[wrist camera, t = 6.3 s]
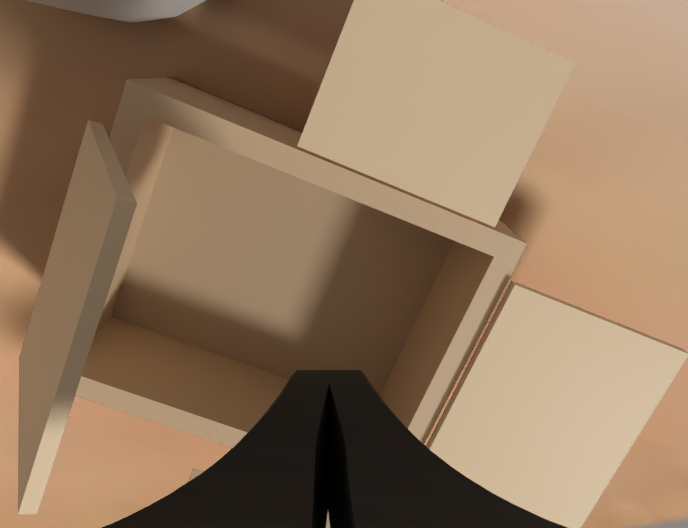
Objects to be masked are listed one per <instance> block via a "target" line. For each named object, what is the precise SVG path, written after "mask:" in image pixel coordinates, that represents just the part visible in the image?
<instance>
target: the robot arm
mask: <svg viewBox="0 0 688 528" xmlns="http://www.w3.org/2000/svg"><path fill="white" fill-rule="evenodd" d="M327 513H329V522H330V528H568V527H565V526H562V525H560V524H557V523H554V522H551V521H549V520H546V519H544V518H542V517H540V516H538V515H535V514H533V513H531V512H529V511H527V510H525V509H523V508H521V507H518V506H516V505H514V504H512V503H510V502H508V501H507V500H505V499H503V498H501V497H499V496H497V495H495V494H493V493H492V492H490V491H488V490H487V489H485V488H483V487H482V486H480V485H479V484H477V483H475V482H474V481H472V480H470V479H469V478H467V477H466V476H464V475H463V474H461V473H460V472H458V471H457V470H455V469H454V468H453V467H451V466H450V465H449V464H447V463H446V462H445V461H443V460H442V459H441V458H440V457H438V456H437V455H436V454H434V453H433V452H432V451H431V450H430V449H428V448H427V447H426V446H425V445H424V444H423V443H421V442H420V441H419V440H418V439H417V438H416V437H415V436H414V435H413V434H412V433H411V432H410V431H409V430H408V429H407V428H406V426H405V425H404V424H403V423H402V422H401V421H400V420H399V419H398V417H397V416H396V415H395V414H394V413H393V412H392V411H391V409H390V408H389V407H388V406H387V405H386V403H385V402H384V401H383V399H382V398H381V397H380V395H379V394H378V393H377V392H376V390H375V389H374V387H373V386H372V384H371V383H370V381H369V380H368V378H367V377H366V375H365V374H364V373H363V372H362V371H361V370H297V371H296V372H295V373H293V374H292V375H291V377H290V379H289V381H288V382H287V384H286V385H285V387H284V389H283V390H282V392H281V393H280V394H279V396H278V397H277V398H276V400H275V401H274V402H273V404H272V405H271V406H270V407H269V409H268V410H267V411H266V412H265V414H264V415H263V416H262V417H261V419H260V420H259V421H258V422H257V423H256V424H255V425H254V426H253V428H252V429H251V430H250V431H249V432H248V433H247V434H246V435H245V436H244V437H243V438H242V439H241V440H240V441H239V442H238V443H237V444H236V445H235V446H234V447H233V448H232V449H231V450H230V451H229V452H228V453H227V454H226V455H224V456H223V457H222V458H221V459H220V460H219V461H217V462H216V463H215V464H214V465H212V466H211V467H210V468H208V469H207V470H206V471H204V472H203V473H201V474H200V475H198V476H197V477H195V478H194V479H192V480H191V481H189V482H188V483H186V484H185V485H183V486H182V487H180V488H179V489H177V490H176V491H174V492H173V493H171V494H169V495H168V496H166V497H164V498H162V499H160V500H159V501H157V502H155V503H153V504H151V505H150V506H148V507H146V508H144V509H142V510H140V511H138V512H136V513H134V514H132V515H130V516H128V517H126V518H123V519H121V520H119V521H117V522H115V523H112V524H110V525H107V526H105V527H102V528H326V522H327Z"/></svg>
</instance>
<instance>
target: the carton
mask: <svg viewBox="0 0 688 528" xmlns="http://www.w3.org/2000/svg"><path fill="white" fill-rule="evenodd" d="M575 65H576V62H573V61H571V60H569V59H567V58H565V57H563V56H560V55H558V54H556V53H554V52H552V51H550V50H547V49H545V48H543V47H541V46H539V45H537V44H534V43H532V42H530V41H528V40H526V39H524V38H521V37H519V36H517V35H515V34H513V33H511V32H508V31H506V30H504V29H502V28H500V27H497V26H495V25H493V24H491V23H489V22H487V21H484V20H482V19H480V18H478V17H476V16H474V15H471V14H469V13H467V12H465V11H463V10H461V9H458V8H456V7H454V6H452V5H450V4H448V3H445V2H443V1H441V0H354V1H353V3H352V6H351V8H350V11H349V14H348V16H347V19H346V21H345V24H344V27H343V29H342V32H341V34H340V37H339V39H338V42H337V45H336V47H335V50H334V52H333V55H332V57H331V60H330V63H329V65H328V68H327V70H326V73H325V76H324V78H323V81H322V83H321V86H320V88H319V91H318V94H317V96H316V99H315V101H314V104H313V107H312V109H311V112H310V114H309V117H308V119H307V122H306V125H305V127H304V130H303V132H301V131H298V130H296V129H293V128H291V127H289V126H286V125H284V124H281V123H279V122H277V121H274V120H272V119H269V118H267V117H265V116H262V115H260V114H257V113H255V112H252V111H250V110H248V109H245V108H243V107H240V106H238V105H236V104H233V103H231V102H228V101H226V100H224V99H221V98H219V97H216V96H214V95H211V94H209V93H207V92H204V91H202V90H199V89H197V88H195V87H192V86H190V85H187V84H185V83H183V82H180V81H178V80H175V79H173V78H170V77H164V78H144V79H126V83H125V86H124V89H123V93H122V96H121V99H120V103H119V106H118V109H117V113H116V116H115V119H114V122H113V126H112V129H111V132H110V136H109V140H110V142H111V144H112V147H113V149H114V151H115V153H116V156H117V158H118V160H119V163H120V165H121V167H122V170H123V172H124V174H125V177H126V179H127V181H128V183H129V186H130V188H131V190H132V193H133V195H134V197H135V200H136V202H137V206H136V209H135V212H134V215H133V218H132V221H131V224H130V227H129V230H128V234H127V237H126V240H125V243H124V246H123V249H122V252H121V255H120V258H119V261H118V264H117V268H116V271H115V274H114V277H113V280H112V283H111V286H110V289H109V292H108V295H107V298H106V302H105V305H104V308H103V311H102V314H101V317H100V320H99V323H98V326H97V329H96V333H95V336H94V339H93V342H92V345H91V348H90V351H89V354H88V357H87V360H86V363H85V367H84V370H83V373H82V376H81V379H80V382H79V385H78V388H77V391H76V394H75V396H77V397H80V398H83V399H86V400H89V401H92V402H95V403H98V404H101V405H104V406H107V407H110V408H113V409H116V410H119V411H122V412H125V413H128V414H131V415H134V416H137V417H140V418H143V419H146V420H149V421H152V422H155V423H158V424H161V425H164V426H167V427H170V428H173V429H176V430H179V431H182V432H185V433H188V434H191V435H194V436H197V437H200V438H203V439H206V440H209V441H212V442H215V443H218V444H221V445H224V446H227V447H230V448H233V447H234V446H235V445H236V444H237V443H238V442H239V441H240V440H241V439H242V438H243V437H244V436H245V435H246V434H247V433H248V432H249V431H250V430H251V429H252V428H253V426H254V425H255V424H256V423H257V422H258V421H259V420H260V419H261V417H262V416H263V415H264V414H265V412H266V411H267V410H268V409H269V407H270V406H271V405H272V404H273V402H274V401H275V400H276V398H277V397H278V396H279V394H280V393H281V392H282V390H283V389H284V387H285V385H286V384H287V382H288V381H289V379H290V377H291V375H292V374H293V373H295V372H296V371H297V370H361V371H362V372H363V373H364V374H365V375H366V377H367V378H368V380H369V381H370V383H371V384H372V386H373V387H374V389H375V390H376V392H377V393H378V394H379V395H380V397H381V398H382V399H383V401H384V402H385V403H386V405H387V406H388V407H389V408H390V409H391V411H392V412H393V413H394V414H395V415H396V416H397V417H398V419H399V420H400V421H401V422H402V423H403V424H404V425H405V426H406V428H407V429H408V430H409V431H410V432H411V433H412V434H413V435H414V436H415V437H416V438H417V439H418V440H419V441H420V442H421V443H423V444H424V443H425V441H426V439H427V437H428V435H429V433H430V431H431V429H432V428H433V426H434V424H435V422H436V420H437V418H438V416H439V414H440V412H441V410H442V408H443V406H444V404H445V402H446V400H447V398H448V396H449V395H450V393H451V391H452V389H453V387H454V385H455V383H456V381H457V379H458V377H459V375H460V373H461V371H462V369H463V367H464V365H465V363H466V361H467V360H468V358H469V356H470V354H471V352H472V350H473V348H474V346H475V344H476V342H477V340H478V338H479V336H480V334H481V332H482V330H483V328H484V327H485V325H486V323H487V321H488V319H489V317H490V315H491V313H492V311H493V309H494V307H495V305H496V303H497V301H498V299H499V297H500V295H501V294H502V292H503V290H504V288H505V286H506V284H507V282H508V280H509V278H510V276H511V274H512V272H513V270H514V268H515V266H516V264H517V262H518V260H519V259H520V257H521V255H522V253H523V251H524V249H525V247H526V245H527V243H526V242H525V241H524V240H522V239H521V238H520V237H519V236H518V235H517V234H515V233H514V232H513V231H512V230H511V229H510V228H508V227H507V226H506V225H505V224H504V223H503V222H502V221H500V220H499V218H500V216H501V214H502V212H503V210H504V208H505V206H506V204H507V202H508V200H509V198H510V196H511V194H512V192H513V190H514V188H515V186H516V184H517V182H518V180H519V178H520V176H521V174H522V172H523V170H524V168H525V166H526V164H527V162H528V160H529V158H530V156H531V154H532V152H533V150H534V148H535V146H536V144H537V142H538V140H539V138H540V136H541V133H542V131H543V129H544V127H545V125H546V123H547V121H548V119H549V117H550V115H551V113H552V111H553V109H554V107H555V105H556V103H557V101H558V99H559V97H560V95H561V93H562V91H563V89H564V87H565V85H566V83H567V81H568V79H569V77H570V75H571V73H572V71H573V69H574V67H575ZM687 357H688V353H687V352H686V351H685V350H683V349H682V348H679V347H677V346H674V345H671V344H669V343H666V342H664V341H661V340H659V339H656V338H654V337H651V336H649V335H646V334H644V333H641V332H639V331H636V330H634V329H631V328H629V327H626V326H624V325H621V324H619V323H616V322H614V321H611V320H609V319H606V318H604V317H601V316H599V315H596V314H594V313H591V312H589V311H586V310H584V309H581V308H579V307H576V306H574V305H571V304H569V303H566V302H564V301H561V300H559V299H556V298H554V297H551V296H549V295H546V294H544V293H541V292H539V291H536V290H534V289H531V288H529V287H526V286H524V285H521V284H519V283H516V282H514V281H511V283H510V285H509V287H508V288H507V290H506V292H505V294H504V296H503V298H502V300H501V302H500V304H499V306H498V308H497V310H496V312H495V314H494V316H493V318H492V319H491V321H490V323H489V325H488V327H487V329H486V331H485V333H484V335H483V337H482V339H481V341H480V343H479V345H478V347H477V348H476V350H475V352H474V354H473V356H472V358H471V360H470V362H469V364H468V366H467V368H466V370H465V372H464V374H463V376H462V378H461V379H460V381H459V383H458V385H457V387H456V389H455V391H454V393H453V395H452V397H451V399H450V401H449V403H448V405H447V407H446V409H445V410H444V412H443V414H442V416H441V418H440V420H439V422H438V424H437V426H436V428H435V430H434V432H433V434H432V436H431V438H430V439H429V441H428V443H427V445H426V447H427V448H428V449H430V450H431V451H432V452H433V453H434V454H436V455H437V456H438V457H440V458H441V459H442V460H443V461H445V462H446V463H447V464H449V465H450V466H451V467H453V468H454V469H455V470H457V471H458V472H460V473H461V474H463V475H464V476H466V477H467V478H469V479H470V480H472V481H474V482H475V483H477V484H479V485H480V486H482V487H483V488H485V489H487V490H488V491H490V492H492V493H493V494H495V495H497V496H499V497H501V498H503V499H505V500H507V501H508V502H510V503H512V504H514V505H516V506H518V507H521V508H523V509H525V510H527V511H529V512H531V513H533V514H535V515H538V516H540V517H542V518H544V519H546V520H549V521H551V522H554V523H557V524H560V525H562V526H565V527H568V528H581V526H582V525H583V523H584V522H585V520H586V518H587V517H588V515H589V514H590V512H591V510H592V509H593V507H594V506H595V504H596V502H597V501H598V499H599V498H600V496H601V494H602V493H603V491H604V490H605V488H606V486H607V485H608V483H609V482H610V480H611V478H612V477H613V475H614V474H615V472H616V470H617V469H618V467H619V466H620V464H621V462H622V461H623V459H624V458H625V456H626V454H627V453H628V451H629V450H630V448H631V446H632V445H633V443H634V442H635V440H636V438H637V437H638V435H639V434H640V432H641V430H642V429H643V427H644V425H645V424H646V422H647V421H648V419H649V417H650V416H651V414H652V413H653V411H654V409H655V408H656V406H657V405H658V403H659V401H660V400H661V398H662V397H663V395H664V393H665V392H666V390H667V389H668V387H669V385H670V384H671V382H672V381H673V379H674V377H675V376H676V374H677V373H678V371H679V369H680V368H681V366H682V365H683V363H684V361H685V360H686V358H687Z"/></svg>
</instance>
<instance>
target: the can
mask: <svg viewBox="0 0 688 528" xmlns="http://www.w3.org/2000/svg"><path fill="white" fill-rule="evenodd" d="M25 1H29V2H34V3H38V4H43V5H47V6H51V7H56V8H60V9H64V10H69V11H73V12H78V13H82V14H86V15H92V16H97V17H102V18H108V19H113V20H119V21H124V22H129V23H136V22H143V21H150V20H156V19H163V18H170V17H177V16H178V15H180V14H182V13H184V12H186V11H188V10H190V9H191V8H193V7H195V6H197V5H199V4H201V3H203V2H205V1H206V0H25Z"/></svg>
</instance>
